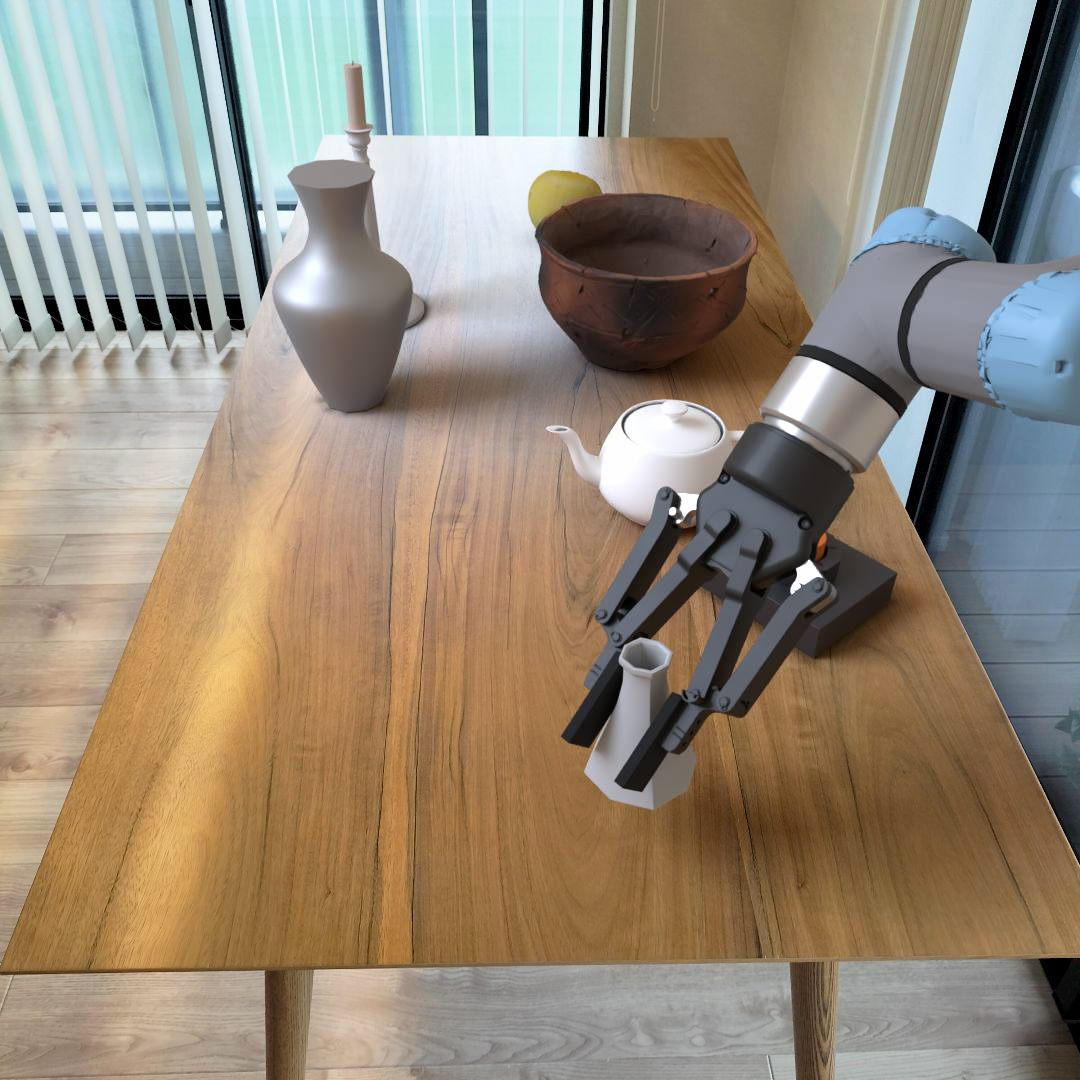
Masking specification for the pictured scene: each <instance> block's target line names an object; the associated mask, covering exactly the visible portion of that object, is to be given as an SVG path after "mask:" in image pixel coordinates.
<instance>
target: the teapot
mask: <svg viewBox="0 0 1080 1080" xmlns="http://www.w3.org/2000/svg"><path fill="white" fill-rule="evenodd" d="M545 430H546V431H547V432H549V433H552V434H553V435H555V436H557V437H559V438H561V439H562V441H563V442H564V443H565V445H566V447H567V449H568V451H569V454H570V457H571V460H572V464H573V467H574V469H575V472H576V473H577V474H578V475H579V477H580V478H581V479H582V480H583V481H585V482H586V483H588V484H589V485H591V486H594V487H598V489H599V491H600V494H601V495H602V497H603V498H604V500H605V501H606V502H607V503H608V505H610V506H611V507H612V508H613V509H614V510H616V511H617V512H618V513H619V514H622V516H624V517H626V518H627V519H629V520H630V521H632V522H634V523H637V524H638V525H642V526H644V527H646V526H647V524H648V522H649V521H650V519H651V515H652V511H653V507H654V503H655V499H656V495H657V492H658V491H659V489H660V488H662V487H665V486H668V487H670V488H672V489H673V490H674V491H675V492H677V493H684V494H694V495H699V494H700V493H701V492H702V491H703V490H704V489H705V488H707V487H709V486H710V485H711V484H713V483H714V482H715V481H716V480H717V479H718V477H719V476H720V473H721V471H722V468H723V465H724V463H725V461H726V460H727V458H728V456H729V455H730V453H731V452H732V450H733V449H734V447H735V445H734V443H738V441H739V439H740V438H741V436H742V435H743V433H744V432H745V430H728V427H727V426H726V424H725V422H724V421H723V419H722V418H721V417H720V416H719V415H718V414H717V413H715V412H713V410H711V409H709V408H707V407H705V406H703V405H700V404H697V403H694V402H690V401H686V400H680V399H653V400H648V401H647V400H646V401H644V402H643V401H642V402H639V403H637V404H634V405H632V406H630V407H629V408H628V409H627V410H625V411H624V412H623V413H622V414H621V415H620V416H619V418H618V419H617V421H616V422H615V423H614V425H613V427H612V428H611V430H610V432H609V433H608V435H607V437H606V438H605V440H604V443H603V444H602V446H601V449H600V452H599V455H595V454H591V453H589V452H588V451H586V450H585V448H584V447H583V444H582V441H581V439H580V437H579V435H578V433H577V432H576V431H575V430H574V429H572V428H570V427H569V426H565V425H549V426H546V428H545ZM694 527H696V515H695V516H694V517H693V518H692V520H691V524H690V525H689V526H686V527H683V530H684V529H688V528H694Z"/></svg>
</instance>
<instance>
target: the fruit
mask: <svg viewBox="0 0 1080 1080" xmlns="http://www.w3.org/2000/svg"><path fill="white" fill-rule="evenodd" d="M597 194H603V192H602V188H601V187H600V184H598V182H597V181H596V180H594V179H593V178H591V177H590V176H588V175H585V174H583V173H580V172H578V171H572V170H562V169H561V170H559V169H558V170H557V169H556V170H555V169H550V170H546V171H544V172H542V173H541V174H540V175H538V176H537V177H536V178H535V179H534V180H533V182H532V183H531V185H530V187H529V191H528V194H527V195H528V196H527V212H528V216H529V219H530V222H531V223H532V225H533V226H534V228H535V229H536V228H537V226H538V224H539V223H540V222H541V220H542V219H543V218H544V217H546V216H547V215H548V214H550V213H551V212H553V211H555V210H557V209H559V208H561V206H563V205H565V204H566V203H568V202H570V201H572V200H575V199H578V198H584V197H587V196H590V195H597Z"/></svg>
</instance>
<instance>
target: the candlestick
mask: <svg viewBox="0 0 1080 1080" xmlns="http://www.w3.org/2000/svg"><path fill="white" fill-rule="evenodd" d="M343 73H344V75H343V76H344V86H345V96H346V97H345V98H346V108H347V119H348V120H347V121H348V123H345V124H344V125H342V127H341V129H342V130H343V131H344V132H345V133H346V134H347V143H348V145H349V146H351V150H352V158H351V160H350V161H355V162H361V163H366V164H367V165H368V166H369V167H371V158H370V157H369V156H368V148H369V147H368V146H369V145H370V144H371V140H372V138H371V136H370V133H371V132H372V130H373V129H374V128H375V126H374V125H373V124H371V123H368V122H367V115H366V114H367V112H366V102H365V90H364V75H363V66H362V64H361V63H357V62H354V60H352V61H351V62H349V63H348V62H347V63H345V64H343ZM375 201H376V200H375V194H374V187H373V182H372V183H371V186H370V189H369V193H368V197H367V201H366V206H365V213H364V223H365V228H366V231H367V234H368V236H369V238H370V239H371V241H372V243H373V244H374V245H375V246H376V247H377V248H378V249H379V250H381V251H382V248H381V247H382V246H381V240H380V234H379V224H378V217H377V210H376V202H375ZM424 314H425V304H424V301H423V300H422V298H421V297H420V296H419V295H417V294H416V293H414V292H413V297H412V304H411V308H410V313H409V317H408V321H407V325H406V329H407V328H409V327H412V326H413V325H415V324H417V323H418V322H419V321H420V320H421V319H422V317H423V316H424Z"/></svg>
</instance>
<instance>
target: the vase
mask: <svg viewBox="0 0 1080 1080" xmlns="http://www.w3.org/2000/svg"><path fill="white" fill-rule="evenodd" d="M375 174H376V171H375V169H373V168H372V167H371V166H370V167H369V166H368V165H367V164H366V163H361V162H355V161H351V160H349V159H344V158H342V159H341V158H340V159H339V158H338V159H321V160H320V159H319V160H314V161H310V162H305V163H303V164H300V165H296V166H294V167H293V169H292V170H290V172H289V173H288V174H287V175H286V178H288V180H289V182H290V184H291V185H292V187H293V189H294V191H295V193H296V195H297V197H298V199H299V201H300V204H301V205H302V208H303V210H304V213H305V215H306V219H307V224H308V233H307V238H306V241H305V244H304V246H303V248H302V250H301V252H299V254H297V255H295V257H293V258H292V259H291V260H290V261H288V262H287V263H286V264H285V265H284V266H283V267H282V268H281V269H280V270H279V272H278V273H277V274H276V276H275V278H274V280H273V283H272V290H271V293H272V300H273V304H274V308H275V310H276V312H277V315H278V317H279V319H280V321H281V324H282V325H283V328H284V330H285V332H286V334H287V336H288V338H289V341H290V343H291V344H292V347H293V348H294V351H295V352H296V355H297V357H298V358H299V361H300V363H301V364H302V366H303V368H304V369H305V372H306V373H307V375H308V377H309V378H310V380H311V382H312V383H313V385H314V386H315V388H316V390H317V392H318V393H319V395H320V396H321V397H322V399H323V401H324V402H325V403H326V404H327V406H328V407H329V408H330V409H334V410H337V411H341V412H345V413H350V412H351V413H352V412H353V413H354V412H363V411H367V410H369V409H371V408H374V407H376V406H377V405H380V404H382V401H383V398H384V396H385V394H386V391H387V389H388V386H389V384H390V382H391V379H392V376H393V373H394V370H395V368H396V364H397V362H398V358H399V355H400V352H401V348H402V344H403V341H404V337H405V332H406V329H407V328H406V325H407V321H408V317H409V313H410V308H411V304H412V297H413V293H414V287H413V285H414V284H413V280H412V277H411V274H410V272H409V271H408V269H407V268H406V267H405V266H404V265H403V264H402V263H401V262H400V261H398V259H396V258H394V257H393V256H391V255H390V254H388V253H386V252H385V251H383V250H382V249H381V250H379V249H378V248H377V247H376V246H375V245H374V244H373V243H372V241H371V239H370V238H369V236H368V234H367V231H366V228H365V223H364V213H365V206H366V201H367V197H368V193H369V189H370V186H371V183H372V184H373V179H374V176H375Z"/></svg>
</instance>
